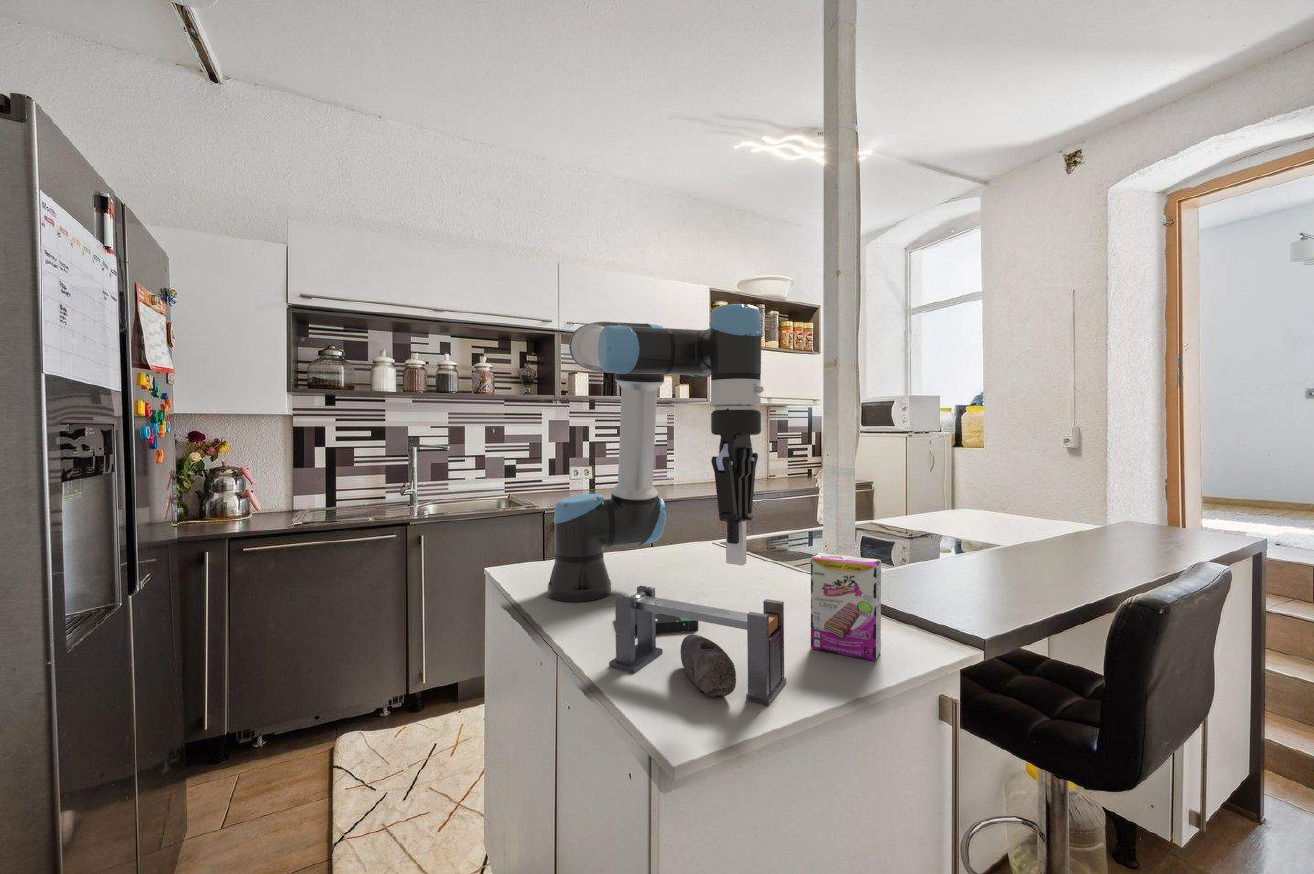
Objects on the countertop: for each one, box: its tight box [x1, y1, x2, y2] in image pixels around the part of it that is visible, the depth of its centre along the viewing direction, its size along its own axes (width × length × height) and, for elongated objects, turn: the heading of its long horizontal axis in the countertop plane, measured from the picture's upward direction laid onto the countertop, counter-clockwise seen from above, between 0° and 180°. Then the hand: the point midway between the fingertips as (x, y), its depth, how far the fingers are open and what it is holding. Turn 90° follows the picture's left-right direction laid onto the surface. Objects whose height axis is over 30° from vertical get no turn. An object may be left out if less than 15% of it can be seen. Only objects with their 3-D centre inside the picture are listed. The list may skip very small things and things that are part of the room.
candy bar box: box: [810, 552, 882, 662], centre depth 96 cm, size 11×5×16 cm, turn 59°
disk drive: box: [635, 609, 699, 636], centre depth 110 cm, size 10×3×15 cm
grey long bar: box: [630, 592, 778, 635], centre depth 87 cm, size 5×25×2 cm, turn 59°
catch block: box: [745, 598, 787, 707], centre depth 81 cm, size 8×3×12 cm, turn 149°
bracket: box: [608, 585, 664, 674], centre depth 93 cm, size 9×5×12 cm, turn 149°
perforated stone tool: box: [680, 634, 737, 698], centre depth 85 cm, size 15×5×7 cm, turn 17°
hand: (736, 563), depth 84 cm, fingers closed
